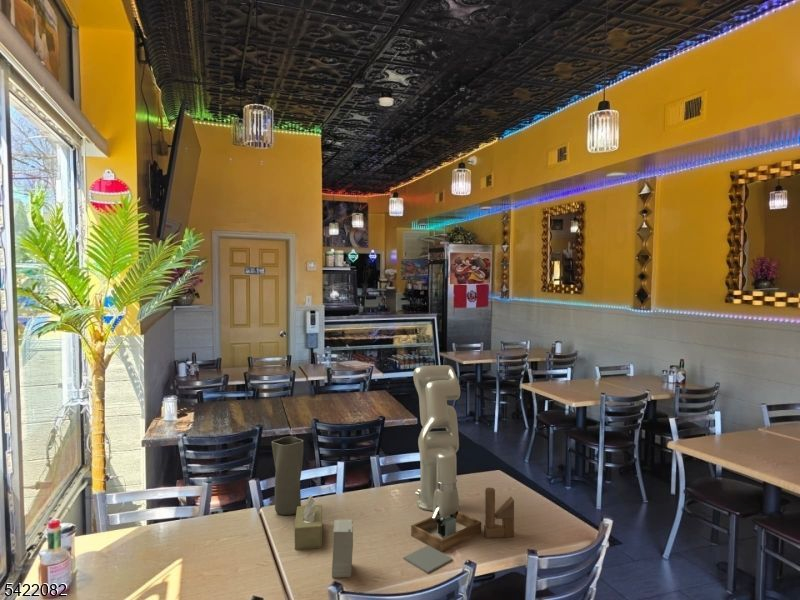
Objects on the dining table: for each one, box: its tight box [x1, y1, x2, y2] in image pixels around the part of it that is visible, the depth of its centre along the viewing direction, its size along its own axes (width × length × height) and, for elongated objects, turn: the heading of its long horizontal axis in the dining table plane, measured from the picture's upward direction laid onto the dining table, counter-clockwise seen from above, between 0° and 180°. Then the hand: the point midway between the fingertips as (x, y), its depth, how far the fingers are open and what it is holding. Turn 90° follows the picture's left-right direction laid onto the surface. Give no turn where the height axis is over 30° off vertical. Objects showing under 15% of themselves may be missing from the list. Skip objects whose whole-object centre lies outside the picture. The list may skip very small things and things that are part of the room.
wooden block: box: [483, 487, 515, 539], centre depth 193 cm, size 4×11×18 cm, turn 96°
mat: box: [402, 545, 453, 574], centre depth 176 cm, size 12×12×1 cm
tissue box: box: [294, 495, 323, 551], centre depth 193 cm, size 19×10×16 cm, turn 9°
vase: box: [271, 436, 304, 516], centre depth 214 cm, size 12×12×30 cm
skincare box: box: [331, 519, 354, 578], centre depth 169 cm, size 8×7×16 cm
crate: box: [410, 511, 482, 553], centre depth 194 cm, size 16×22×4 cm
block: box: [436, 516, 457, 539], centre depth 194 cm, size 5×5×6 cm
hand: (446, 531), depth 194 cm, fingers closed on block, 5 cm apart
